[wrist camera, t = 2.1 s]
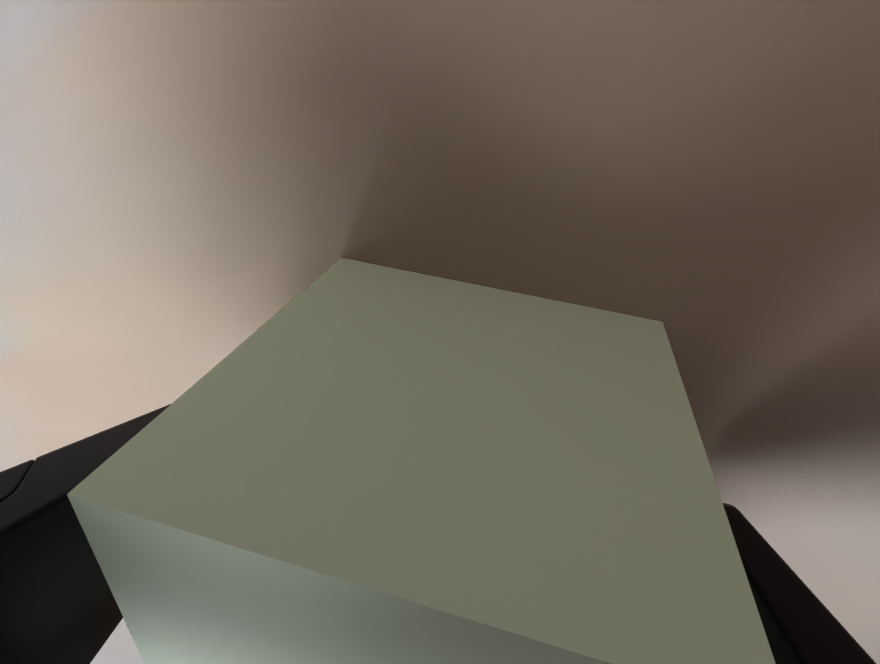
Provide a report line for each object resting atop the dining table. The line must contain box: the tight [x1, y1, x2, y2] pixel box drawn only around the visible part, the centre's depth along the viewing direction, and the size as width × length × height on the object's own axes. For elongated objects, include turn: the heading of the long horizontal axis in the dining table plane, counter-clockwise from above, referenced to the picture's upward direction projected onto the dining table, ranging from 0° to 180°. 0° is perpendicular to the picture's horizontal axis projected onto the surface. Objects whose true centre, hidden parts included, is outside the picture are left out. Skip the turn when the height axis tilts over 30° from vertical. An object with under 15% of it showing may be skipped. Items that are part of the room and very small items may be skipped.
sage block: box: [67, 258, 775, 664], centre depth 8 cm, size 6×6×6 cm
